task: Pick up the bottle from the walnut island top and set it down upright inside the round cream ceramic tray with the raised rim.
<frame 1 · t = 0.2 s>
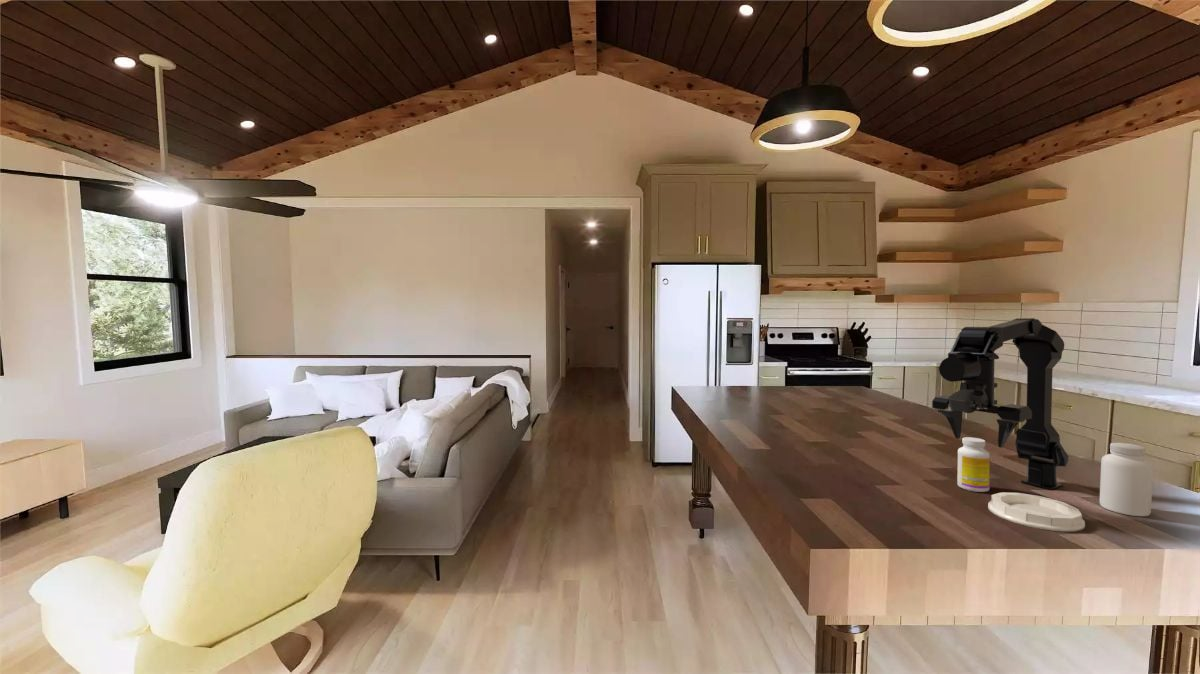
hand: (978, 442, 116), 14 cm above the table, fingers open, 9 cm apart
pill bottle: (1124, 511, 109), on the table
tray: (1034, 515, 107), on the table
supplement bottle: (973, 489, 124), on the table
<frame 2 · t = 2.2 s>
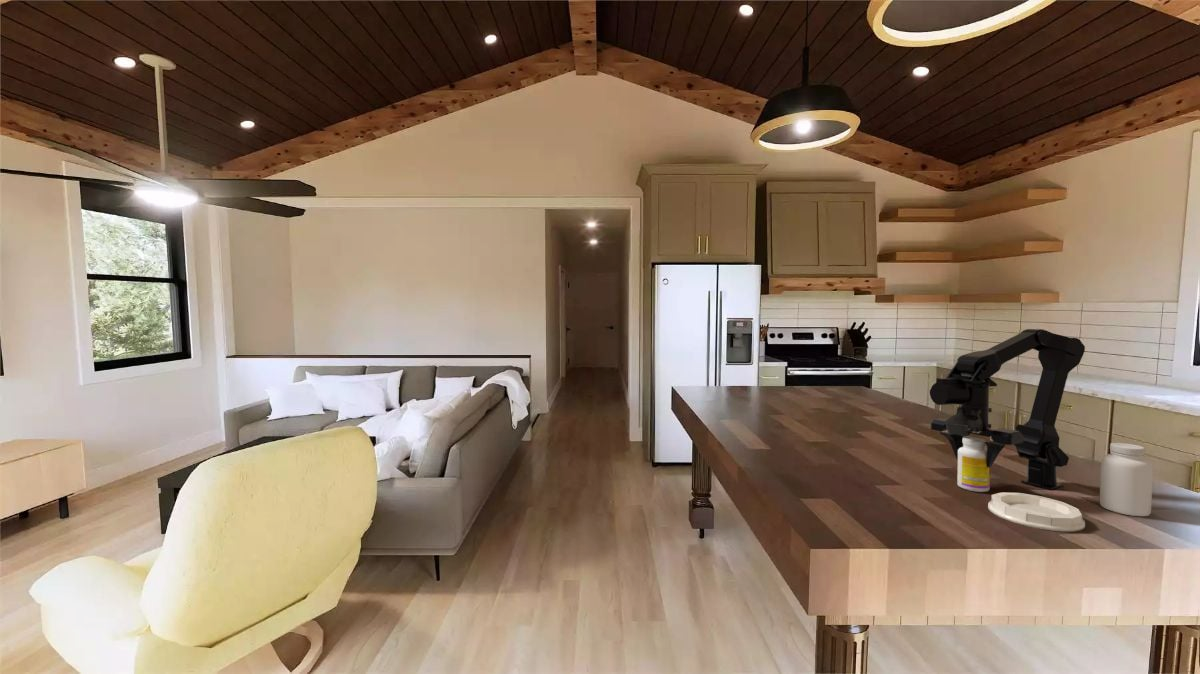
hand: (973, 463, 124), 7 cm above the table, fingers closed on supplement bottle, 7 cm apart
supplement bottle: (973, 489, 124), on the table, touching gripper
everything else where it was.
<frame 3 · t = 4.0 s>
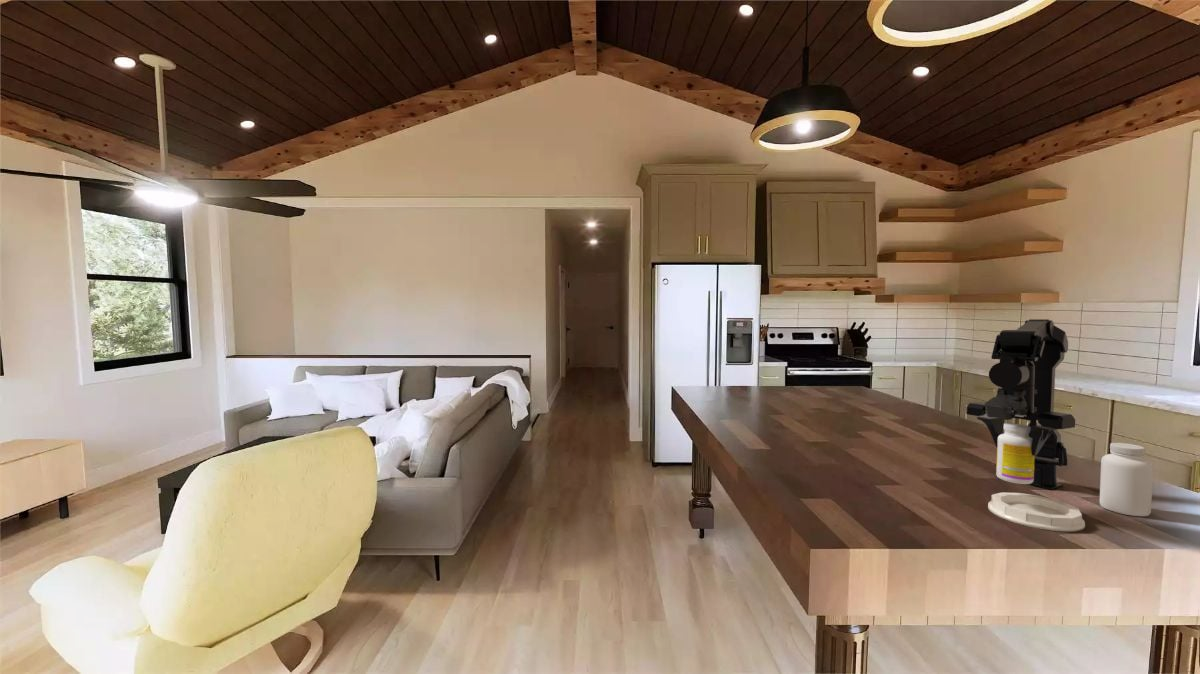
hand: (1016, 451, 111), 13 cm above the table, fingers closed on supplement bottle, 7 cm apart
supplement bottle: (1014, 480, 111), point 6 cm above the table, touching gripper
everything else where it was.
when the fingers open (8 cm above the table, at t = 6.2 s): supplement bottle stays where it is, resting on tray.
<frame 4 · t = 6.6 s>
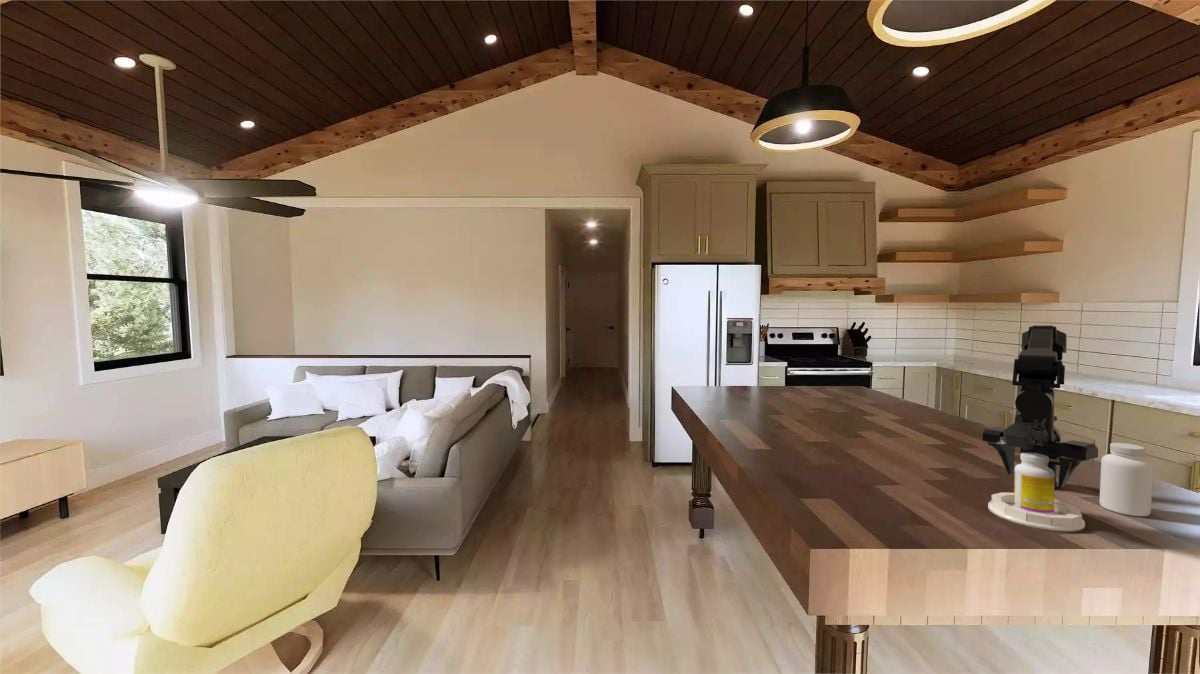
hand: (1034, 480, 107), 8 cm above the table, fingers open, 9 cm apart
supplement bottle: (1033, 513, 107), point 1 cm above the table, touching tray
everything else where it was.
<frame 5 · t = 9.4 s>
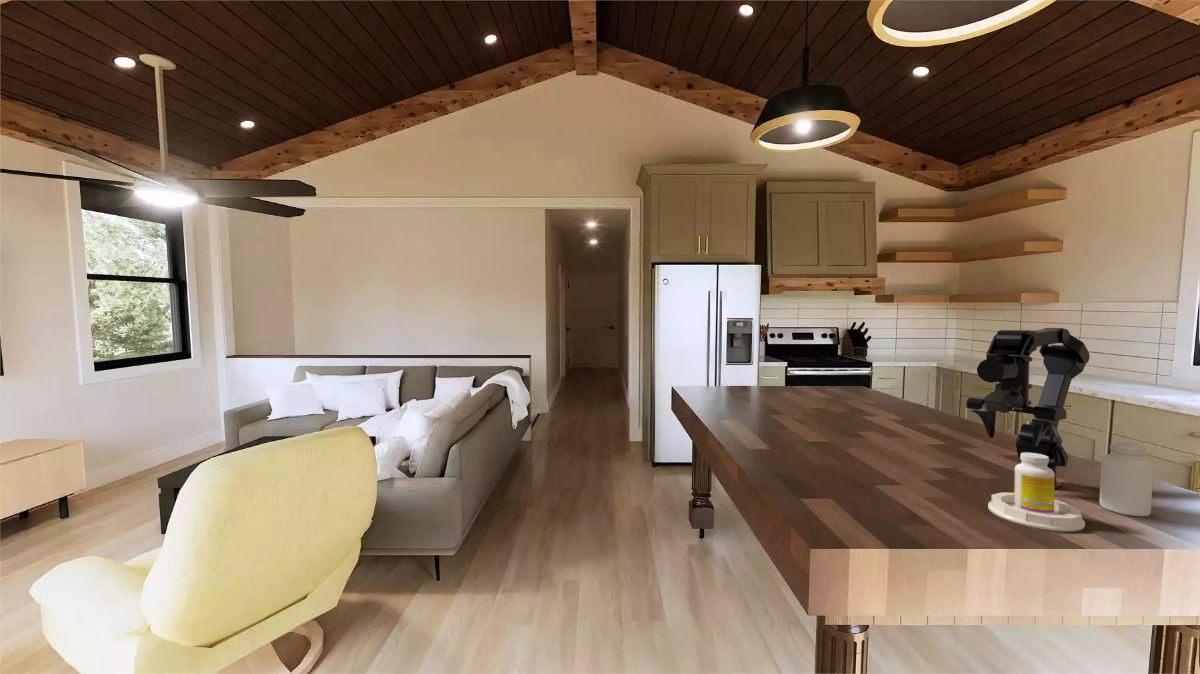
hand: (1012, 441, 120), 13 cm above the table, fingers open, 9 cm apart
nothing on the table moved.
at the end: supplement bottle inside the target area on the tray (0.1 cm from its centre), point 0.6 cm above the tray's base; supplement bottle tilted 0°; the gripper is holding nothing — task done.
